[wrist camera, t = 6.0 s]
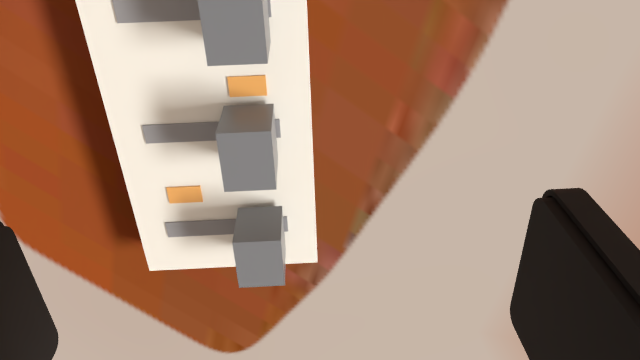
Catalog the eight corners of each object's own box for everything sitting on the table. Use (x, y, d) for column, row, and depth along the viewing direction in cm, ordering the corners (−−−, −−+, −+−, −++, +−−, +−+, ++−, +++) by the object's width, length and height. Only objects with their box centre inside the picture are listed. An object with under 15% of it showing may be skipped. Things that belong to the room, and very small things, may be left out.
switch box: (80, -70, 23) (56, -63, 20) (302, -78, 23) (303, -72, 21) (159, 244, 32) (149, 271, 30) (315, 236, 32) (317, 263, 30)
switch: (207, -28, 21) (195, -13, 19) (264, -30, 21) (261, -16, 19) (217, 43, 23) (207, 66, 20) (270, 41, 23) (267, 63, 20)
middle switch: (223, 105, 24) (215, 133, 22) (273, 103, 24) (271, 131, 22) (231, 160, 26) (224, 192, 23) (278, 157, 26) (276, 189, 23)
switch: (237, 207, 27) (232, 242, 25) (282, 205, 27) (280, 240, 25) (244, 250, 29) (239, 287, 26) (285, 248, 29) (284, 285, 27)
